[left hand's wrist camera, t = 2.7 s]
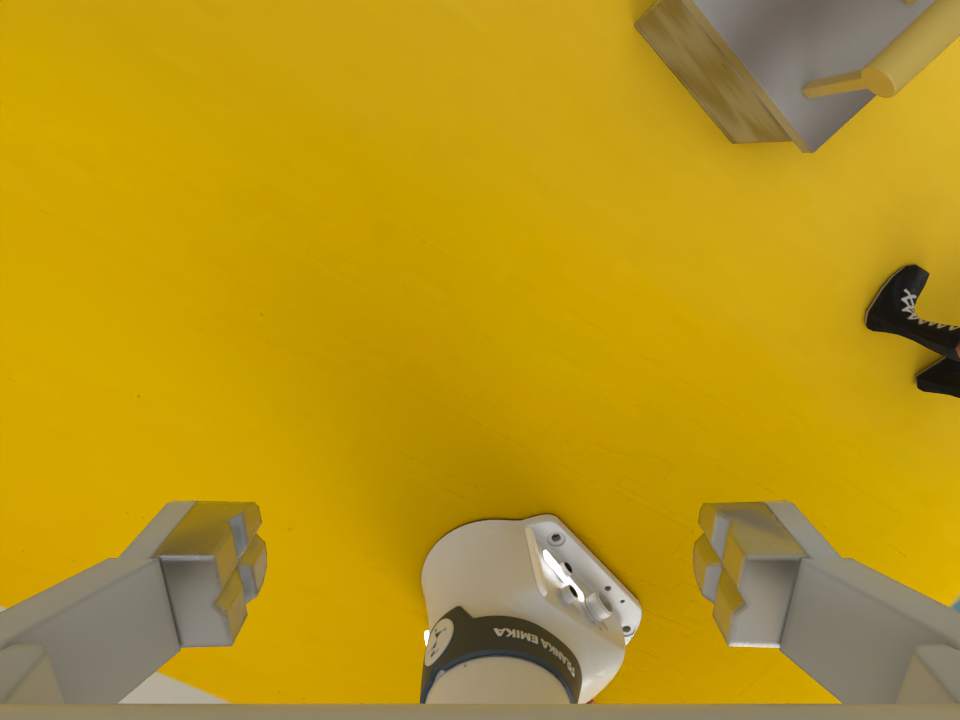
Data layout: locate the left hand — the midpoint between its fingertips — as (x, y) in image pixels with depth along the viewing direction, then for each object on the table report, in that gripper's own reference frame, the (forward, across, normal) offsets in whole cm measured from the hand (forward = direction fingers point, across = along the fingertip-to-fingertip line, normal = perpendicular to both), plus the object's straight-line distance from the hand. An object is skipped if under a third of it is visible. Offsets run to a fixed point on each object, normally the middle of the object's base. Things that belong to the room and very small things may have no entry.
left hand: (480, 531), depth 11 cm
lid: (+28, +19, +14) cm, 36 cm away
